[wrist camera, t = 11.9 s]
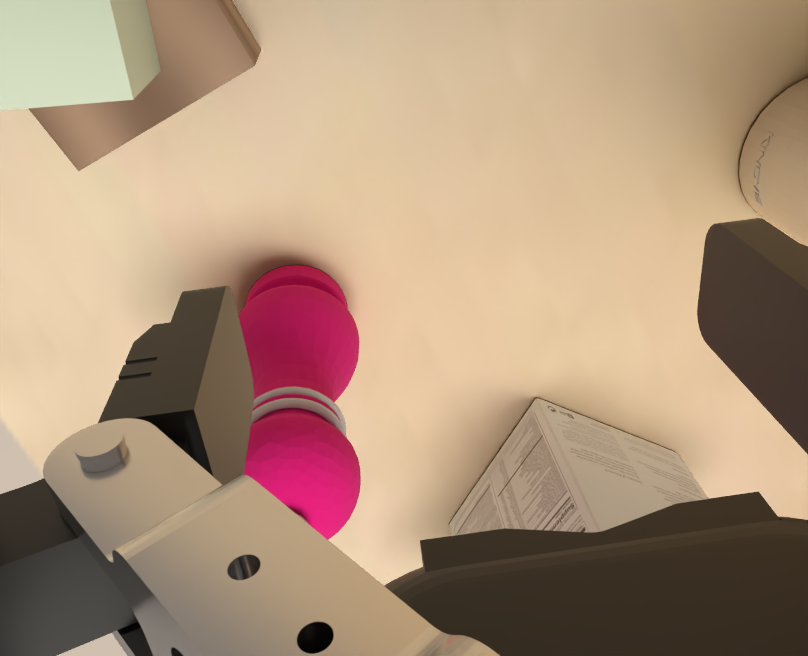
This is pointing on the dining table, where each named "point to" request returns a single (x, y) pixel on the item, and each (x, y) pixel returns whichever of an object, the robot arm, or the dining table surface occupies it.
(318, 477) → the pepper mill
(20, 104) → the green block
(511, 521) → the supplement box
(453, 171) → the dining table surface
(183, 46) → the walnut box
